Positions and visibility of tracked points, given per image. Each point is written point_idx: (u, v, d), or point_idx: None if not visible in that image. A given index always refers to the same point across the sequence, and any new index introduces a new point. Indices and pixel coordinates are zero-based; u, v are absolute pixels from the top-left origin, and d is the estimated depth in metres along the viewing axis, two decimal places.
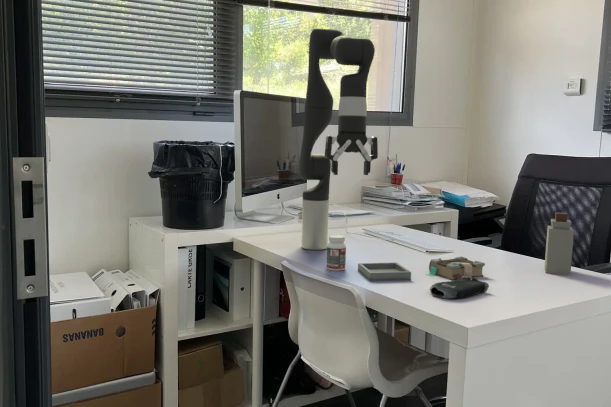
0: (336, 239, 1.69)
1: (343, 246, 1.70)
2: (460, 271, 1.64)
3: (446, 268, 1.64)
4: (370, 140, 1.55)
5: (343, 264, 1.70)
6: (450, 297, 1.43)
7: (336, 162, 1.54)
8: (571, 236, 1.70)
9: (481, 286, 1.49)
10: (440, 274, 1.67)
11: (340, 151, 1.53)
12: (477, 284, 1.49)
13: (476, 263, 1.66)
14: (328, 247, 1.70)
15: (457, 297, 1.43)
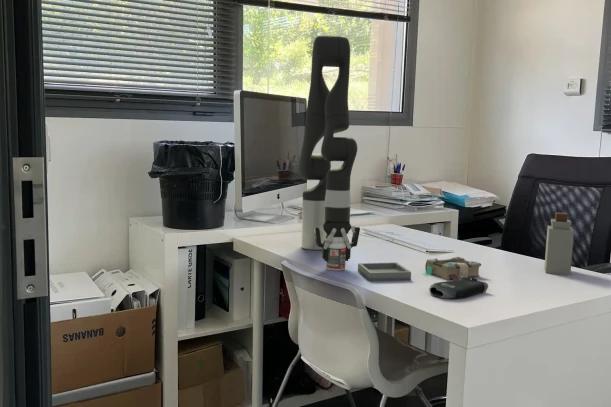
0: (336, 239, 1.69)
1: (343, 246, 1.70)
2: (456, 271, 1.64)
3: (442, 268, 1.64)
4: (353, 229, 1.71)
5: (343, 264, 1.70)
6: (449, 297, 1.43)
7: (326, 250, 1.70)
8: (571, 236, 1.70)
9: (480, 286, 1.49)
10: (436, 274, 1.67)
11: (328, 240, 1.69)
12: (476, 284, 1.49)
13: (472, 263, 1.66)
14: (328, 247, 1.70)
15: (457, 297, 1.43)
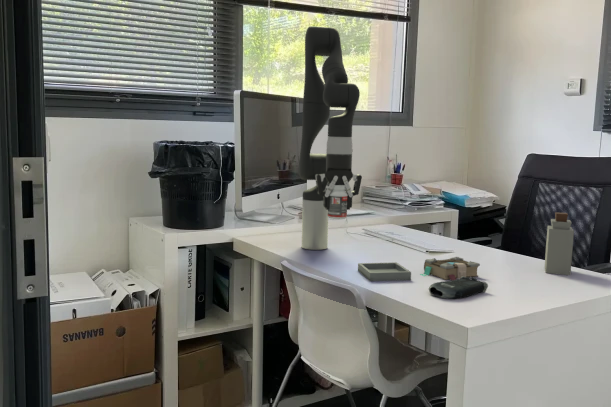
0: (338, 187, 1.67)
1: (345, 194, 1.68)
2: (454, 271, 1.64)
3: (440, 268, 1.64)
4: (355, 177, 1.69)
5: (345, 212, 1.68)
6: (449, 297, 1.43)
7: (328, 198, 1.68)
8: (571, 236, 1.70)
9: (480, 286, 1.49)
10: (434, 274, 1.67)
11: (330, 187, 1.67)
12: (476, 284, 1.49)
13: (471, 263, 1.66)
14: (329, 195, 1.68)
15: (456, 297, 1.43)
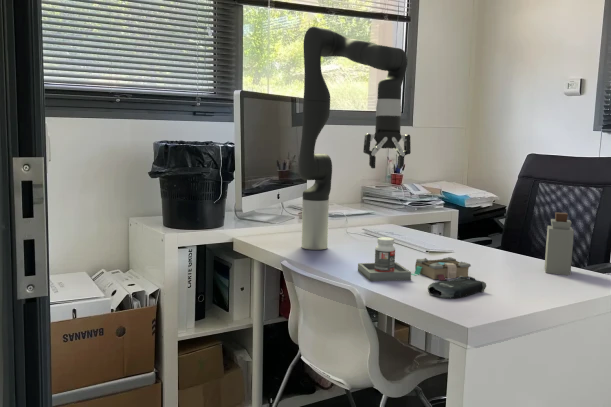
0: (386, 241, 1.62)
1: (393, 249, 1.63)
2: (444, 272, 1.64)
3: (429, 268, 1.64)
4: (404, 137, 1.75)
5: (392, 267, 1.64)
6: (448, 296, 1.43)
7: (374, 157, 1.73)
8: (571, 236, 1.70)
9: (479, 285, 1.49)
10: (424, 274, 1.67)
11: (378, 147, 1.72)
12: (475, 283, 1.49)
13: (461, 264, 1.65)
14: (377, 250, 1.64)
15: (455, 297, 1.43)
